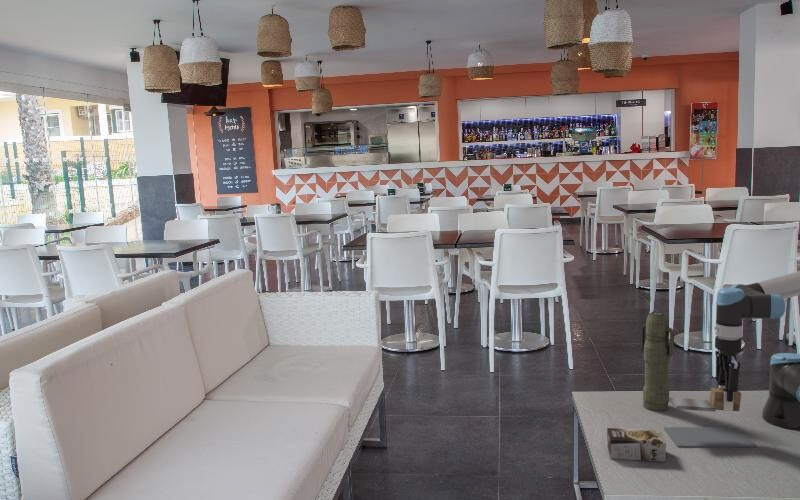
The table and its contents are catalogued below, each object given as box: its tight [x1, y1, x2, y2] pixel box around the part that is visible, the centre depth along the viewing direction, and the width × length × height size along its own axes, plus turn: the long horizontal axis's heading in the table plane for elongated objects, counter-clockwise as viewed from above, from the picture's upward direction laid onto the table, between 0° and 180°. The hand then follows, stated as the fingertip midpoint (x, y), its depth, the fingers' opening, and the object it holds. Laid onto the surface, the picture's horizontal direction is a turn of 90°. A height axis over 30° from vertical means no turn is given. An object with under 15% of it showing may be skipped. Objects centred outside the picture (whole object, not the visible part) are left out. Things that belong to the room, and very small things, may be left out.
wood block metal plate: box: [669, 387, 742, 413], centre depth 210 cm, size 20×7×6 cm, turn 85°
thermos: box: [640, 311, 675, 413], centre depth 236 cm, size 9×12×35 cm
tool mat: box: [663, 426, 758, 448], centre depth 212 cm, size 24×14×1 cm, turn 85°
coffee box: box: [606, 427, 667, 462], centre depth 202 cm, size 9×6×16 cm
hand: (725, 407), depth 210 cm, fingers closed on wood block metal plate, 3 cm apart
